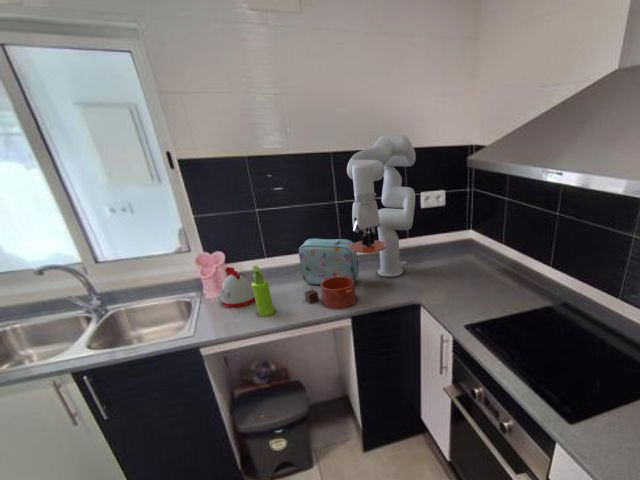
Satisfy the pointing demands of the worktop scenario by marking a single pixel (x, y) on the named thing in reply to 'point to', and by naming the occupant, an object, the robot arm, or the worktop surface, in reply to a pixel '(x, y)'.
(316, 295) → the block
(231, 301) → the kitchen timer
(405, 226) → the robot arm
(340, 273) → the lunch box
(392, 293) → the worktop surface
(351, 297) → the pot
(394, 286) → the worktop surface
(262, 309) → the soap dispenser
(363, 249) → the lid
